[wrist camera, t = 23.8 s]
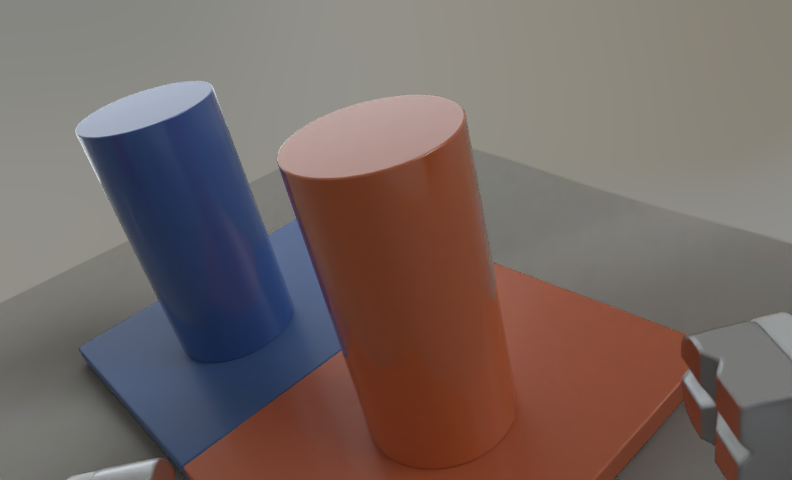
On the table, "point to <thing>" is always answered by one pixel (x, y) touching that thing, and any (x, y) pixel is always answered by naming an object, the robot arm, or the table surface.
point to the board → (341, 411)
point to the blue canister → (190, 217)
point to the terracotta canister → (406, 273)
